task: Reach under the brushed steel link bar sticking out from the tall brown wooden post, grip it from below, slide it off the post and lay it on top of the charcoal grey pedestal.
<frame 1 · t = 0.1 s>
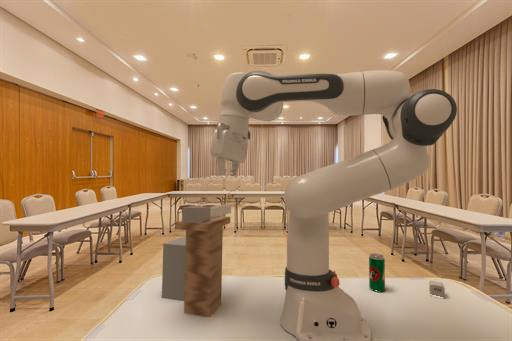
hand: (227, 175, 77), 39 cm above the table, tool pointing down, fingers open, 8 cm apart
usb wall charger: (436, 294, 90), on the table
pedestal: (185, 289, 91), on the table
soda can: (377, 290, 93), on the table
link bar: (215, 216, 86), point 26 cm above the table, touching brown wooden post
brown wooden post: (203, 308, 77), on the table
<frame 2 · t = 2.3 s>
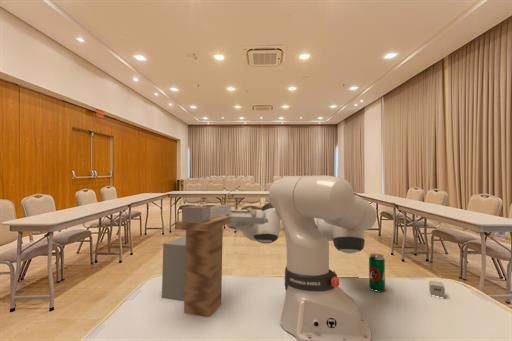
hand: (237, 208, 107), 26 cm above the table, tool pointing upward, fingers open, 8 cm apart
nothing on the table moved.
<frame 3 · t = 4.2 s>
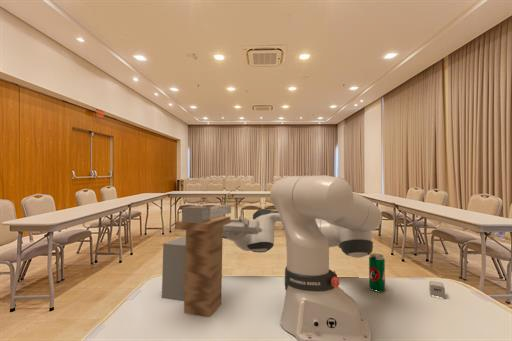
hand: (228, 217, 99), 24 cm above the table, tool pointing upward, fingers open, 8 cm apart
nothing on the table moved.
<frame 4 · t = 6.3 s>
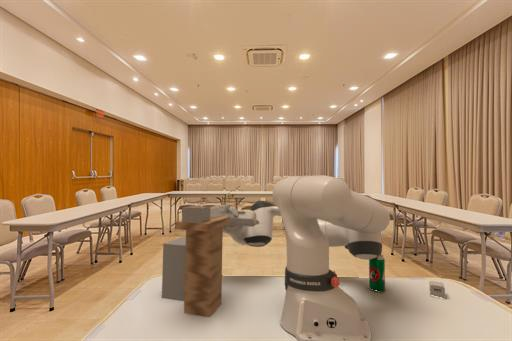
hand: (223, 208, 92), 28 cm above the table, tool pointing upward, fingers closed on link bar, 3 cm apart
link bar: (215, 216, 86), point 26 cm above the table, touching gripper, brown wooden post
everything else where it was.
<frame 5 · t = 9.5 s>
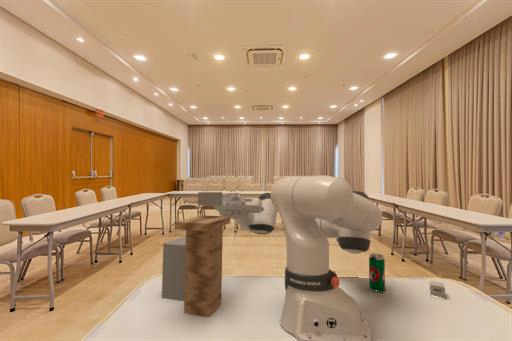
hand: (232, 195, 103), 32 cm above the table, tool pointing upward, fingers closed on link bar, 3 cm apart
link bar: (225, 202, 96), point 30 cm above the table, touching gripper
everything else where it was.
when the fingers open (20 cm above the table, at t = 12.9 s): link bar stays where it is, resting on pedestal.
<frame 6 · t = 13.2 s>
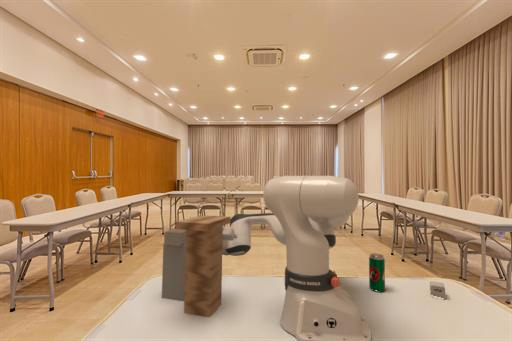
hand: (204, 225, 105), 20 cm above the table, tool pointing upward, fingers open, 6 cm apart
link bar: (196, 236, 98), point 17 cm above the table, touching pedestal
everything else where it was.
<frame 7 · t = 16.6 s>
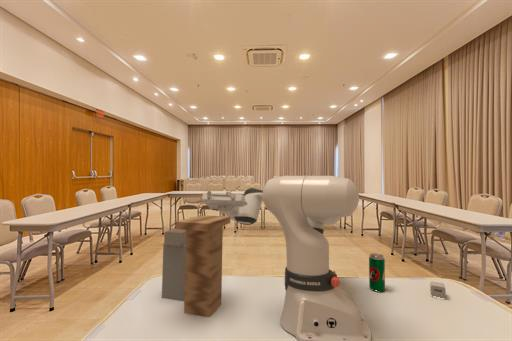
hand: (217, 192, 116), 33 cm above the table, tool pointing upward, fingers open, 8 cm apart
nothing on the table moved.
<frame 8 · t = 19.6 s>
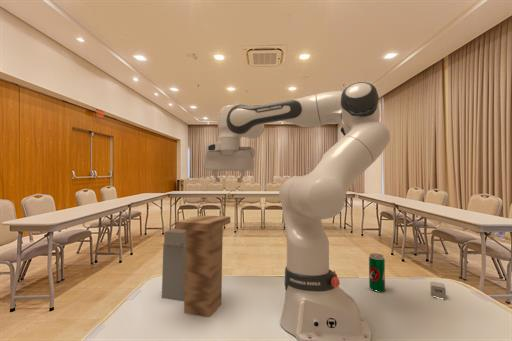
hand: (228, 182, 103), 37 cm above the table, tool pointing down, fingers open, 8 cm apart
at the end: link bar inside the target area on the pedestal (0.1 cm from its centre), point 17.0 cm above the pedestal's base; link bar touching pedestal; the gripper is holding nothing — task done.
